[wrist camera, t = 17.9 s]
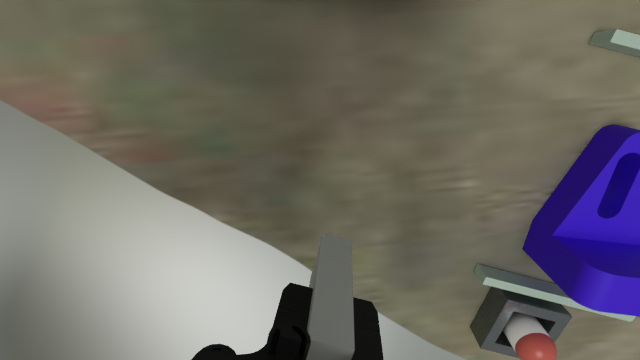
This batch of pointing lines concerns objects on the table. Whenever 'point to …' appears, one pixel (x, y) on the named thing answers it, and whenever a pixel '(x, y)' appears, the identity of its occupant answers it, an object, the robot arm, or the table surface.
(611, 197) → the bracket
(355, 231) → the table surface
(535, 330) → the plunger
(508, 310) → the housing
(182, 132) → the table surface
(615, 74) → the table surface
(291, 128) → the table surface
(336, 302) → the robot arm
